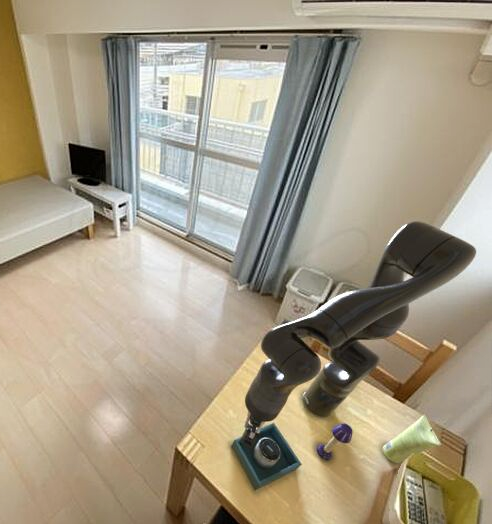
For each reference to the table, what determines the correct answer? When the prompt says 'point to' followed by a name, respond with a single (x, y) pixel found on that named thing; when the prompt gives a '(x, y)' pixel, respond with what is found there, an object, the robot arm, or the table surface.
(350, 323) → the robot arm
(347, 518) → the table surface
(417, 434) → the tube
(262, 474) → the crate
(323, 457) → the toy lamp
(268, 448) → the camera lens
